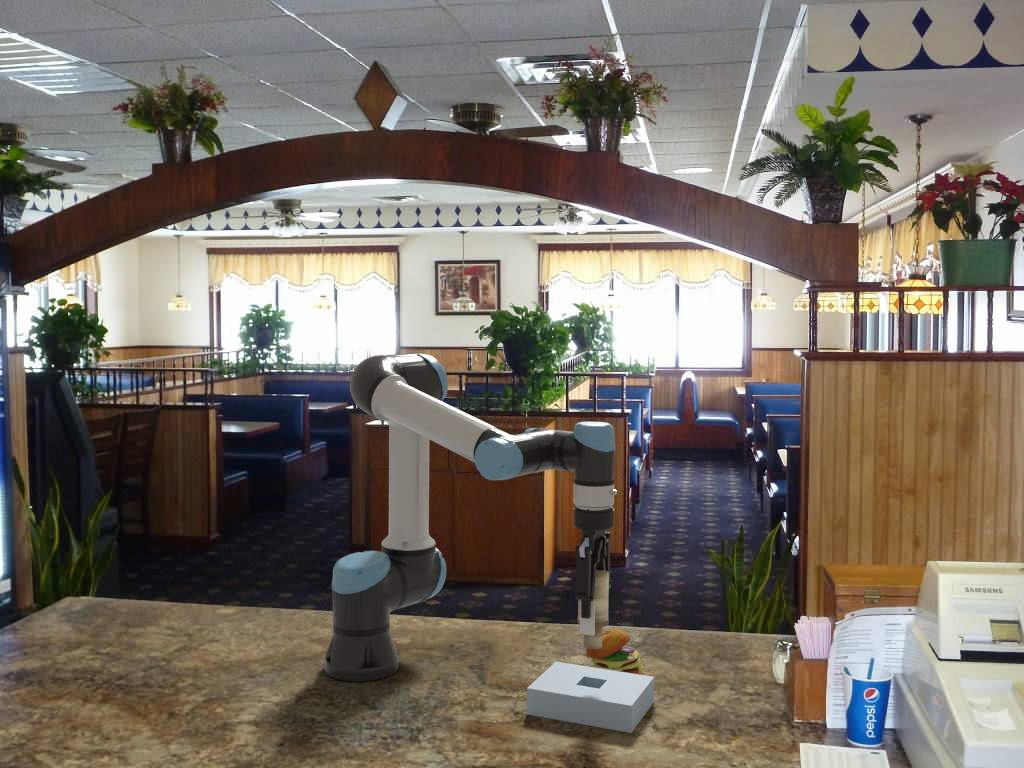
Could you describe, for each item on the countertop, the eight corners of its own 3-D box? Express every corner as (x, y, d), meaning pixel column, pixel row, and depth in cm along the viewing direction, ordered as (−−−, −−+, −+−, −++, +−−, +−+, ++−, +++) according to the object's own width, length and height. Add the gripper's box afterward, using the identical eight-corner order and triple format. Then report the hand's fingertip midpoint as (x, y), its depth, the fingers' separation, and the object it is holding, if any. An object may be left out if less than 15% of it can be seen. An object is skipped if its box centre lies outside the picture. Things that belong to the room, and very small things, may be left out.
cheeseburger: (642, 683, 201) (631, 635, 201) (590, 692, 203) (579, 644, 203) (645, 665, 211) (634, 619, 211) (596, 673, 213) (585, 628, 213)
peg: (573, 649, 187) (573, 574, 185) (583, 639, 192) (583, 567, 191) (602, 653, 184) (603, 578, 183) (612, 643, 190) (613, 570, 188)
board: (526, 714, 186) (527, 688, 186) (555, 686, 200) (555, 661, 200) (631, 733, 178) (631, 705, 178) (653, 702, 192) (654, 676, 192)
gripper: (597, 517, 176) (596, 647, 178) (628, 498, 193) (626, 617, 195) (557, 514, 179) (556, 641, 181) (590, 495, 196) (590, 612, 198)
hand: (592, 628), depth 188 cm, fingers closed on peg, 6 cm apart
